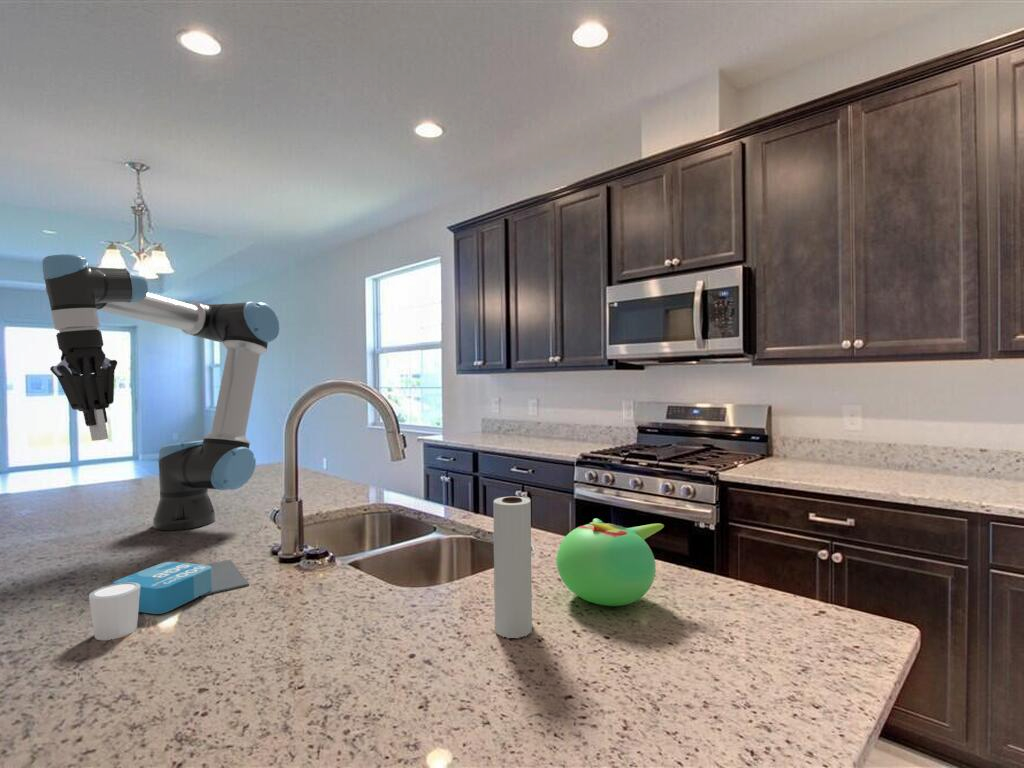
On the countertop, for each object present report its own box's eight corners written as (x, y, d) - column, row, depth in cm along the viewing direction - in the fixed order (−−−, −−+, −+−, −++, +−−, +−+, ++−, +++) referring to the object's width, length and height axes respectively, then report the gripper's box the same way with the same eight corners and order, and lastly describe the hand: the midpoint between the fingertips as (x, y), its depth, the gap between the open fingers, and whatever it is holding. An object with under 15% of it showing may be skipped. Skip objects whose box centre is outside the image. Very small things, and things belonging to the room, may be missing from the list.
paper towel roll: (505, 643, 84) (503, 505, 83) (488, 627, 89) (487, 497, 89) (545, 632, 87) (544, 499, 87) (527, 618, 93) (525, 492, 92)
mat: (152, 607, 99) (152, 605, 99) (145, 578, 113) (145, 576, 113) (248, 585, 108) (248, 583, 108) (230, 561, 123) (230, 559, 123)
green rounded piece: (539, 600, 100) (538, 520, 99) (592, 574, 112) (591, 503, 112) (625, 631, 87) (625, 540, 87) (674, 598, 100) (674, 519, 100)
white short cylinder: (150, 626, 91) (149, 585, 91) (105, 645, 85) (104, 601, 85) (125, 619, 94) (124, 579, 94) (80, 637, 88) (79, 594, 87)
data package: (166, 560, 109) (215, 565, 106) (167, 583, 109) (216, 588, 106) (107, 583, 97) (160, 589, 94) (108, 608, 97) (161, 615, 94)
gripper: (94, 330, 122) (114, 433, 125) (31, 333, 109) (55, 448, 112) (120, 327, 120) (140, 431, 123) (60, 329, 108) (84, 446, 110)
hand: (100, 439), depth 118 cm, fingers closed
